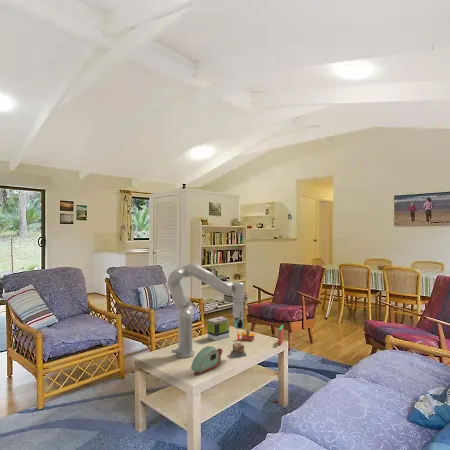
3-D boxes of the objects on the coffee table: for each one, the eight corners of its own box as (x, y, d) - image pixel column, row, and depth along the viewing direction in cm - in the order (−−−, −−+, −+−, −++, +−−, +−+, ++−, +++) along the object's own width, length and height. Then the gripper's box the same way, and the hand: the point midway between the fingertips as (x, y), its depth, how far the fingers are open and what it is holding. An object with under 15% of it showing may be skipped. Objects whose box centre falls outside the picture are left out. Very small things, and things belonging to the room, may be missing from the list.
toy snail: (197, 378, 199) (198, 354, 199) (189, 374, 204) (189, 351, 204) (226, 365, 218) (226, 343, 218) (217, 362, 223) (217, 341, 223)
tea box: (221, 333, 281) (221, 316, 281) (229, 337, 273) (229, 318, 273) (207, 337, 271) (207, 319, 271) (214, 341, 263) (214, 322, 263)
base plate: (235, 358, 229) (235, 354, 229) (230, 354, 236) (230, 350, 236) (246, 357, 231) (246, 353, 231) (241, 352, 239) (241, 349, 239)
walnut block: (236, 354, 230) (236, 346, 230) (232, 351, 235) (232, 343, 235) (244, 352, 232) (244, 345, 232) (240, 349, 238) (240, 342, 238)
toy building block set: (281, 347, 250) (281, 328, 250) (235, 341, 262) (235, 323, 262) (283, 341, 262) (283, 323, 262) (240, 336, 274) (240, 319, 274)
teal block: (236, 329, 230) (236, 321, 231) (233, 326, 235) (233, 319, 235) (243, 328, 232) (243, 320, 232) (240, 326, 237) (240, 319, 237)
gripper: (229, 298, 241) (229, 324, 240) (237, 303, 224) (237, 331, 224) (238, 297, 243) (238, 323, 243) (248, 302, 227) (248, 329, 227)
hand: (238, 326), depth 234 cm, fingers closed on teal block, 5 cm apart
